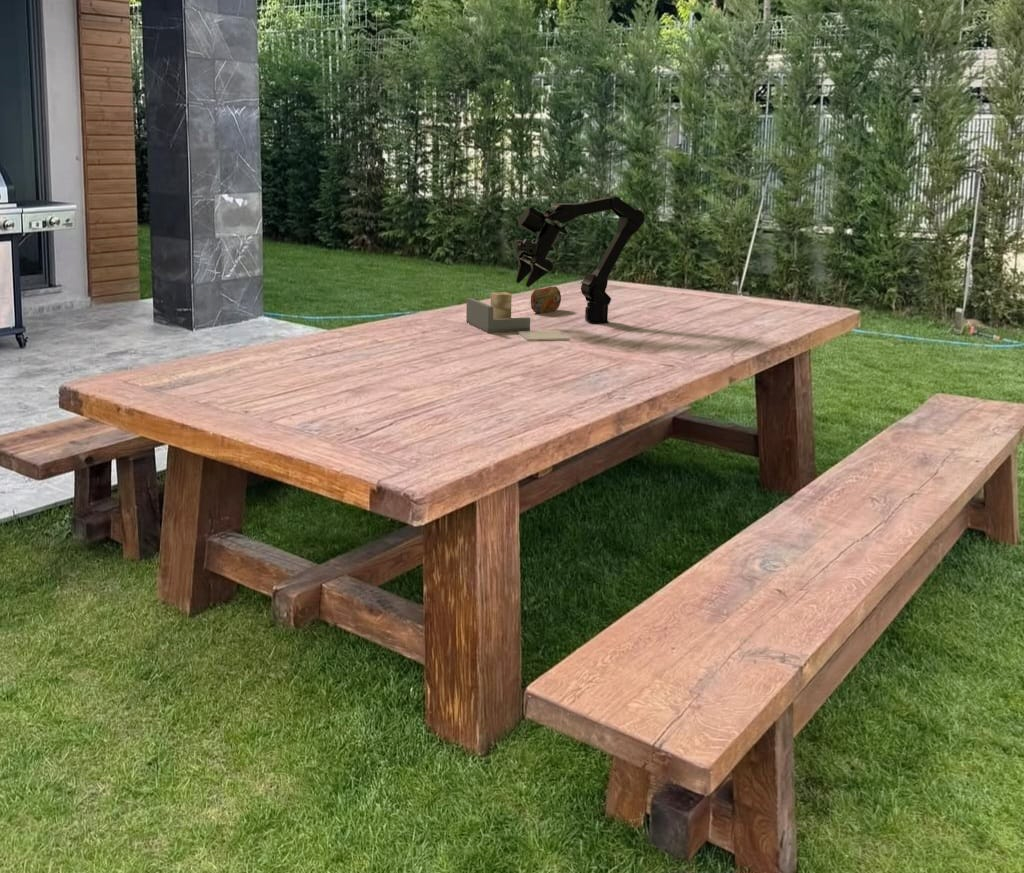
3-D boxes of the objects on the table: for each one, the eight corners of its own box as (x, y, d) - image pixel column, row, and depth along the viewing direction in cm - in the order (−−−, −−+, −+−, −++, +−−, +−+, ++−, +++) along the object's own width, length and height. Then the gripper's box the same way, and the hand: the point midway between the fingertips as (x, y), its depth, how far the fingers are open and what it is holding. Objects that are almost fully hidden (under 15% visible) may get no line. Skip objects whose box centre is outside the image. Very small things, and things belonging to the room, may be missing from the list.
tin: (536, 314, 374) (536, 289, 372) (528, 313, 376) (529, 289, 374) (561, 309, 386) (562, 285, 384) (554, 308, 388) (554, 284, 385)
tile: (558, 332, 343) (558, 330, 342) (569, 340, 330) (569, 338, 330) (517, 333, 340) (517, 331, 340) (527, 341, 328) (527, 339, 327)
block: (505, 317, 353) (505, 292, 350) (511, 319, 348) (511, 294, 346) (490, 317, 351) (490, 292, 349) (496, 320, 346) (496, 295, 344)
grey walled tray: (506, 320, 361) (507, 296, 359) (529, 330, 344) (530, 305, 342) (466, 322, 356) (466, 297, 354) (487, 333, 339) (488, 307, 336)
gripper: (514, 225, 355) (492, 269, 356) (534, 231, 338) (510, 276, 339) (543, 242, 359) (520, 284, 361) (564, 248, 342) (540, 293, 344)
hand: (522, 284), depth 351 cm, fingers open, 9 cm apart
